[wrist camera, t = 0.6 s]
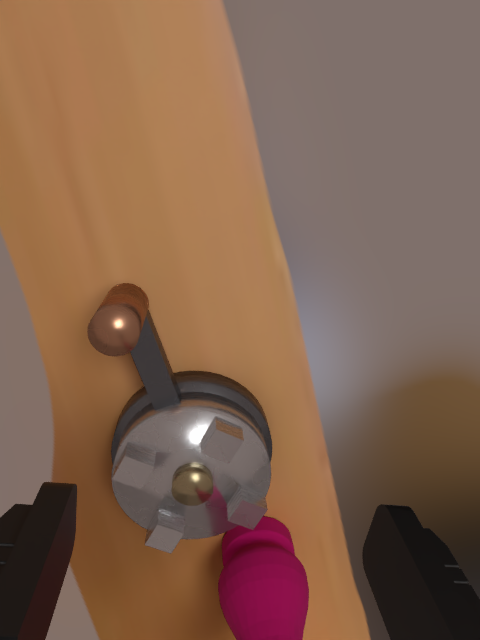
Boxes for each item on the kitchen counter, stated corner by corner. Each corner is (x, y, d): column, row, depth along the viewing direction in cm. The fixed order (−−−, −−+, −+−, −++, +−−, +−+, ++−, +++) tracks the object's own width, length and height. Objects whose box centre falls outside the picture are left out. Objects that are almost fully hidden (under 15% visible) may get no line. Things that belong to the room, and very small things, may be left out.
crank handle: (281, 490, 35) (296, 552, 30) (148, 528, 35) (139, 597, 30) (205, 254, 28) (207, 279, 22) (39, 304, 28) (0, 341, 23)
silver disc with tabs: (283, 474, 37) (288, 491, 35) (147, 514, 37) (145, 533, 36) (245, 351, 33) (248, 363, 31) (91, 397, 33) (85, 411, 31)
